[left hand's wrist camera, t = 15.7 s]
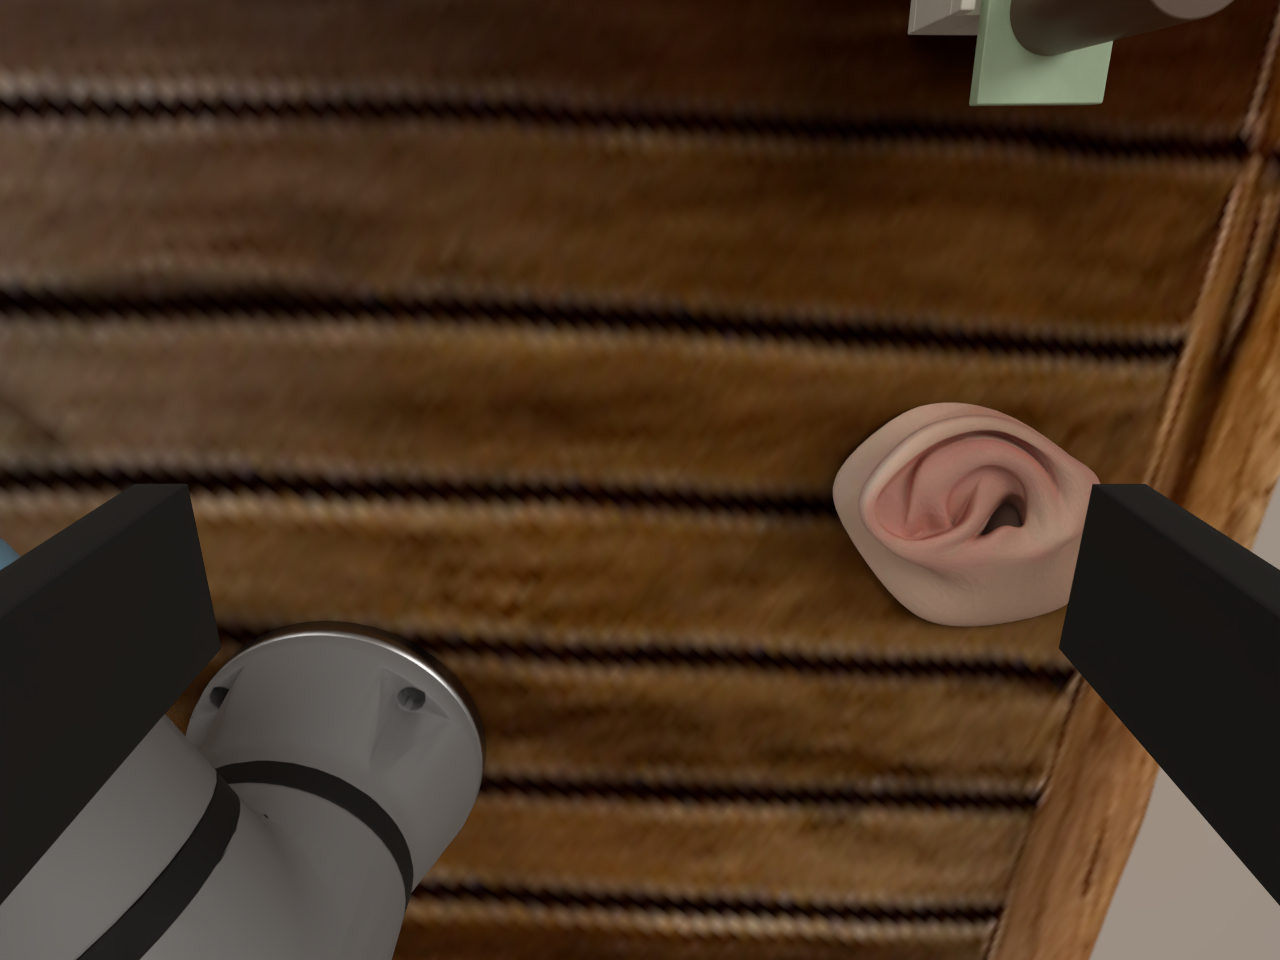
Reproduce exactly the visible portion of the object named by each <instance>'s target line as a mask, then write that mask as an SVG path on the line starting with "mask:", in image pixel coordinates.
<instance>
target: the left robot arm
mask: <svg viewBox="0 0 1280 960" xmlns="http://www.w3.org/2000/svg"><path fill="white" fill-rule="evenodd" d="M220 649H221V645H220V640H219V635H218V631H217V626H216V621H215V616H214V611H213V606H212V601H211V596H210V591H209V587H208V582H207V577H206V572H205V567H204V562H203V557H202V552H201V547H200V543H199V538H198V533H197V528H196V523H195V518H194V513H193V508H192V503H191V499H190V494H189V489H188V484H134V485H132V486H131V487H129V488H128V489H126V490H125V491H123V492H121V493H120V494H118V495H117V496H115V497H114V498H112V499H111V500H109V501H107V502H106V503H104V504H103V505H101V506H100V507H98V508H97V509H95V510H93V511H92V512H90V513H89V514H87V515H86V516H84V517H82V518H81V519H79V520H78V521H76V522H75V523H73V524H72V525H70V526H68V527H67V528H65V529H64V530H62V531H61V532H59V533H58V534H56V535H54V536H53V537H51V538H50V539H48V540H47V541H45V542H43V543H42V544H40V545H39V546H37V547H36V548H34V549H33V550H31V551H29V552H28V553H26V554H25V555H23V556H22V557H20V556H19V555H18V554H17V553H16V552H15V551H14V550H13V549H12V548H11V547H10V546H9V545H8V544H7V543H6V542H5V541H4V540H3V539H1V538H0V960H392V956H393V953H394V949H395V946H396V943H397V939H398V936H399V932H400V929H401V925H402V922H403V918H404V914H405V911H406V908H407V905H408V902H409V899H410V896H411V893H412V891H413V890H414V889H415V887H416V886H417V885H418V884H419V882H420V881H421V880H422V879H423V877H424V876H425V875H426V874H427V872H428V871H429V870H430V869H431V867H432V866H433V865H434V863H435V862H436V861H437V860H438V858H439V857H440V856H441V854H442V853H443V852H444V850H445V849H446V848H447V846H448V845H449V844H450V843H451V841H452V840H453V839H454V838H455V837H456V835H457V834H458V833H459V831H460V830H461V828H462V827H463V825H464V823H465V822H466V820H467V818H468V816H469V814H470V812H471V809H472V807H473V805H474V803H475V801H476V798H477V795H478V792H479V788H480V785H481V781H482V777H483V772H484V768H485V760H486V742H485V735H484V730H483V726H482V722H481V719H480V717H479V714H478V711H477V709H476V707H475V705H474V703H473V701H472V699H471V698H470V696H469V694H468V693H467V691H466V690H465V688H464V687H463V686H462V684H461V683H460V682H459V681H458V679H457V678H456V677H455V676H454V675H453V674H452V673H451V672H450V671H449V670H448V669H447V668H446V667H445V666H444V665H443V664H442V663H441V662H439V661H438V660H437V659H436V658H434V657H433V656H432V655H430V654H429V653H428V652H426V651H425V650H423V649H421V648H420V647H418V646H416V645H415V644H413V643H411V642H409V641H407V640H405V639H403V638H401V637H399V636H397V635H394V634H391V633H389V632H386V631H383V630H380V629H377V628H373V627H370V626H365V625H360V624H355V623H347V622H334V621H320V622H307V623H300V624H295V625H290V626H286V627H283V628H279V629H276V630H273V631H271V632H268V633H266V634H264V635H262V636H259V637H258V638H256V639H254V640H253V641H251V642H249V643H248V644H246V645H245V646H243V647H242V648H241V649H239V650H238V651H237V652H236V653H235V654H234V655H233V656H232V657H230V658H229V659H228V661H227V662H226V663H225V664H224V665H223V666H222V668H221V669H220V670H219V671H218V672H217V674H216V675H215V676H214V677H213V679H212V680H211V681H210V682H209V684H208V685H207V687H206V688H205V690H204V691H203V694H202V696H201V697H200V699H199V701H198V703H197V705H196V707H195V709H194V711H193V713H192V716H191V719H190V722H189V725H188V729H187V732H186V736H184V734H183V733H182V732H181V731H180V730H179V729H178V728H177V727H176V725H175V724H174V723H173V722H172V721H171V720H170V719H169V718H168V716H167V715H166V714H165V713H166V712H167V711H168V710H169V708H170V707H171V706H172V705H173V704H174V703H175V701H176V700H177V699H178V698H179V697H180V696H181V694H182V693H183V692H184V691H185V690H186V689H187V687H188V686H189V685H190V684H191V683H192V682H193V680H194V679H195V678H196V677H197V676H198V675H199V673H200V672H201V671H202V670H203V669H204V668H205V666H206V665H207V664H208V663H209V662H210V661H211V659H212V658H213V657H214V656H215V655H216V654H217V652H218V651H219V650H220ZM1059 649H1060V650H1061V651H1062V652H1063V654H1064V655H1065V656H1066V657H1067V658H1068V659H1069V661H1070V662H1071V663H1072V664H1073V665H1074V666H1075V668H1076V669H1077V670H1078V671H1079V672H1080V673H1081V675H1082V676H1083V677H1084V678H1085V679H1086V680H1087V682H1088V683H1089V684H1090V685H1091V686H1092V687H1093V689H1094V690H1095V691H1096V692H1097V693H1098V694H1099V696H1100V697H1101V698H1102V699H1103V700H1104V701H1105V703H1106V704H1107V705H1108V706H1109V707H1110V708H1111V710H1112V711H1113V712H1114V713H1115V714H1116V715H1117V717H1118V718H1119V719H1120V720H1121V721H1122V722H1123V724H1124V725H1125V726H1126V727H1127V728H1128V729H1129V731H1130V732H1131V733H1132V734H1133V735H1134V736H1135V737H1136V739H1137V740H1138V741H1139V742H1140V743H1141V744H1142V746H1143V747H1144V748H1145V749H1146V750H1147V751H1148V753H1149V754H1150V755H1151V756H1152V757H1153V758H1154V760H1155V761H1156V762H1157V763H1158V764H1159V765H1160V767H1161V768H1162V769H1163V770H1164V771H1165V772H1166V774H1167V775H1168V776H1169V777H1170V778H1171V779H1172V781H1173V782H1174V783H1175V784H1176V785H1177V786H1178V788H1179V789H1180V790H1181V791H1182V792H1183V793H1184V795H1185V796H1186V797H1187V798H1188V799H1189V800H1190V802H1191V803H1192V804H1193V805H1194V806H1195V807H1196V809H1197V810H1198V811H1199V812H1200V813H1201V814H1202V816H1203V817H1204V818H1205V819H1206V820H1207V821H1208V823H1209V824H1210V825H1211V826H1212V827H1213V828H1214V830H1215V831H1216V832H1217V833H1218V834H1219V835H1220V837H1221V838H1222V839H1223V840H1224V841H1225V842H1226V844H1227V845H1228V846H1229V847H1230V848H1231V849H1232V851H1233V852H1234V853H1235V854H1236V855H1237V856H1238V857H1239V859H1240V860H1241V861H1242V862H1243V863H1244V865H1245V866H1246V867H1247V868H1248V869H1249V870H1250V871H1251V873H1252V874H1253V875H1254V876H1255V877H1256V878H1257V880H1258V881H1259V882H1260V883H1261V884H1262V885H1263V887H1264V888H1265V889H1266V890H1267V891H1268V892H1269V894H1270V895H1271V896H1272V897H1273V898H1274V899H1275V901H1276V902H1277V903H1278V904H1279V905H1280V570H1279V569H1277V568H1276V567H1274V566H1272V565H1271V564H1269V563H1268V562H1266V561H1265V560H1263V559H1261V558H1260V557H1258V556H1257V555H1255V554H1254V553H1252V552H1251V551H1249V550H1247V549H1246V548H1244V547H1243V546H1241V545H1240V544H1238V543H1237V542H1235V541H1233V540H1232V539H1230V538H1229V537H1227V536H1226V535H1224V534H1222V533H1221V532H1219V531H1218V530H1216V529H1215V528H1213V527H1212V526H1210V525H1208V524H1207V523H1205V522H1204V521H1202V520H1201V519H1199V518H1198V517H1196V516H1194V515H1193V514H1191V513H1190V512H1188V511H1187V510H1185V509H1183V508H1182V507H1180V506H1179V505H1177V504H1176V503H1174V502H1173V501H1171V500H1169V499H1168V498H1166V497H1165V496H1163V495H1162V494H1160V493H1159V492H1157V491H1155V490H1154V489H1152V488H1151V487H1149V486H1148V485H1146V484H1092V489H1091V494H1090V499H1089V503H1088V508H1087V513H1086V518H1085V523H1084V528H1083V533H1082V538H1081V543H1080V547H1079V552H1078V557H1077V562H1076V567H1075V572H1074V577H1073V582H1072V587H1071V591H1070V596H1069V601H1068V606H1067V611H1066V616H1065V621H1064V626H1063V631H1062V635H1061V640H1060V645H1059Z"/></svg>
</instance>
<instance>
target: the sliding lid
mask: <svg viewBox="0 0 1280 960" xmlns="http://www.w3.org/2000/svg"><path fill="white" fill-rule="evenodd" d="M1233 1H1234V0H982V2H981V10H980V19H979V27H978V35H977V44H976V52H975V61H974V69H973V77H972V86H971V94H970V102H969V105H970V106H1016V105H1093V104H1101V103H1102V102H1103V96H1104V90H1105V84H1106V78H1107V73H1108V67H1109V61H1110V55H1111V49H1112V43H1113V41H1114V40H1118V39H1122V38H1126V37H1130V36H1134V35H1138V34H1142V33H1146V32H1150V31H1154V30H1158V29H1162V28H1166V27H1170V26H1174V25H1178V24H1182V23H1186V22H1190V21H1194V20H1198V19H1202V18H1205V17H1208V16H1211V15H1213V14H1215V13H1217V12H1219V11H1220V10H1222V9H1223V8H1225V7H1227V6H1228V5H1229V4H1230V3H1231V2H1233Z"/></svg>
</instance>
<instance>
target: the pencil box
mask: <svg viewBox="0 0 1280 960" xmlns="http://www.w3.org/2000/svg"><path fill="white" fill-rule="evenodd" d="M981 2H982V0H911V8H910V17H909V26H908V35H978V27H979V19H980V10H981Z"/></svg>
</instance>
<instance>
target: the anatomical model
mask: <svg viewBox="0 0 1280 960" xmlns="http://www.w3.org/2000/svg"><path fill="white" fill-rule="evenodd" d="M1092 484H1100V482H1099V480H1098V478H1097V476H1096V475H1095V474H1094V472H1093V471H1091V470H1090V469H1089V468H1088V467H1087V466H1085V465H1084V464H1082V463H1081V462H1079V461H1078V460H1076V459H1074V458H1073V457H1071V456H1070V455H1068V454H1067V453H1066V452H1065V451H1064V450H1062V449H1061V448H1060V447H1058V446H1057V445H1056V444H1054V443H1053V442H1051V441H1050V440H1049V439H1047V438H1046V437H1045V436H1043V435H1042V434H1040V433H1038V432H1037V431H1035V430H1034V429H1032V428H1031V427H1029V426H1027V425H1026V424H1024V423H1022V422H1020V421H1018V420H1017V419H1015V418H1013V417H1010V416H1008V415H1006V414H1003V413H1001V412H998V411H996V410H992V409H989V408H985V407H982V406H977V405H971V404H964V403H936V404H929V405H924V406H920V407H917V408H914V409H911V410H909V411H907V412H905V413H903V414H901V415H899V416H898V417H896V418H894V419H893V420H891V421H889V422H888V423H887V424H885V425H884V426H883V427H881V428H880V429H879V430H878V431H876V432H875V433H874V434H872V435H871V436H870V437H869V438H868V439H867V440H865V441H864V442H863V443H862V444H861V445H860V446H859V447H858V448H857V449H856V450H855V451H854V452H853V453H852V454H851V455H850V456H849V457H848V459H847V460H846V461H845V463H844V464H843V465H842V467H841V468H840V470H839V472H838V473H837V476H836V478H835V481H834V486H833V500H834V504H835V508H836V510H837V513H838V515H839V517H840V520H841V522H842V524H843V526H844V528H845V529H846V531H847V533H848V535H849V536H850V538H851V540H852V541H853V543H854V545H855V546H856V548H857V549H858V551H859V552H860V554H861V555H862V557H863V558H864V560H865V561H866V562H867V564H868V565H869V567H870V568H871V569H872V571H873V572H874V573H875V575H876V576H877V577H878V579H879V580H880V581H881V582H882V583H883V585H884V586H885V587H886V588H887V590H888V591H889V592H890V593H891V594H892V595H893V596H894V597H895V598H896V599H897V600H898V601H899V602H900V603H901V604H902V605H903V606H905V607H906V608H907V609H908V610H910V611H911V612H912V613H914V614H915V615H917V616H919V617H921V618H923V619H925V620H927V621H930V622H933V623H937V624H941V625H949V626H985V625H994V624H1001V623H1007V622H1013V621H1018V620H1023V619H1028V618H1032V617H1035V616H1039V615H1043V614H1046V613H1049V612H1052V611H1054V610H1057V609H1059V608H1061V607H1063V606H1065V605H1066V604H1068V601H1069V596H1070V591H1071V587H1072V582H1073V577H1074V572H1075V567H1076V562H1077V557H1078V552H1079V547H1080V543H1081V538H1082V533H1083V528H1084V523H1085V518H1086V513H1087V508H1088V503H1089V499H1090V494H1091V489H1092Z"/></svg>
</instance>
